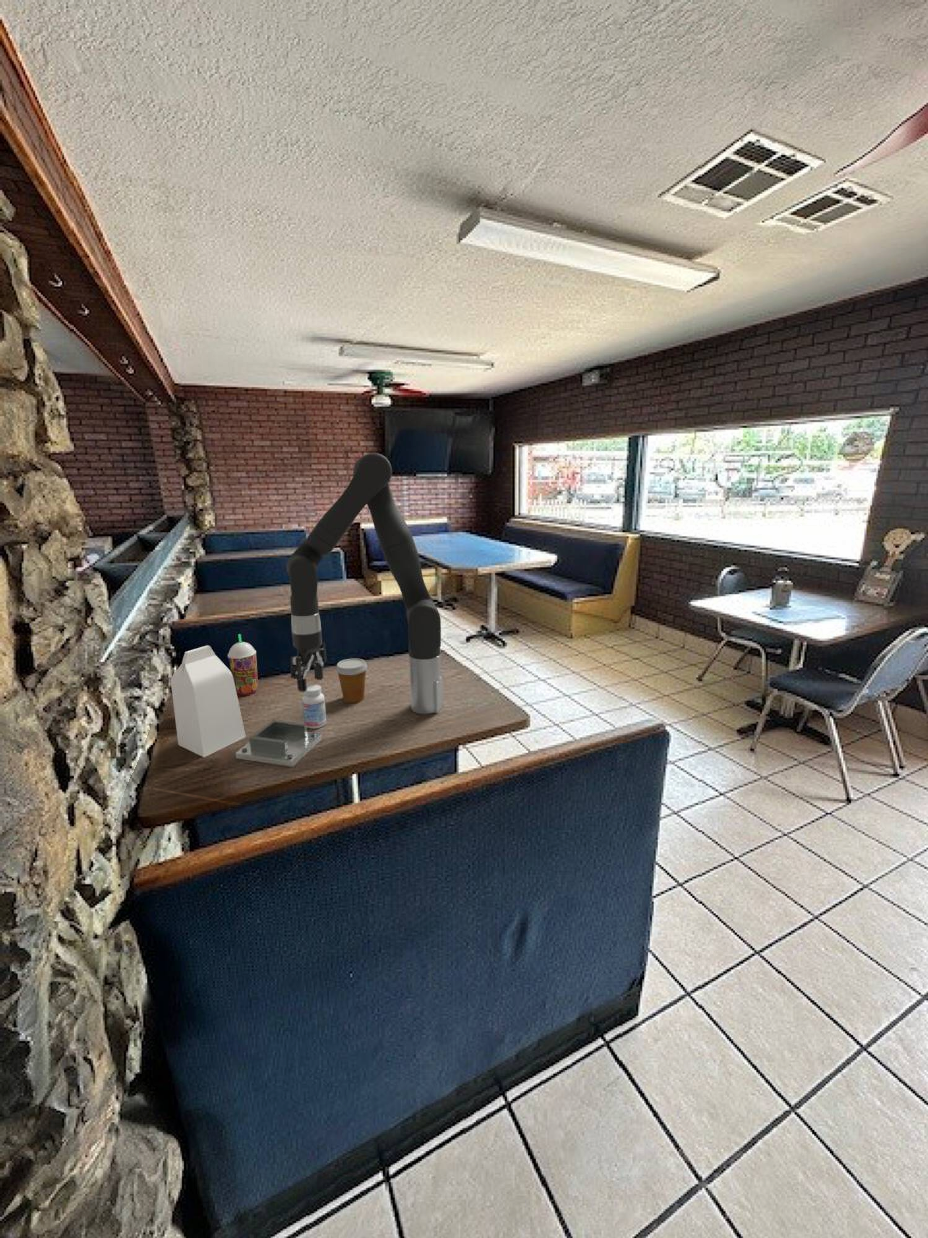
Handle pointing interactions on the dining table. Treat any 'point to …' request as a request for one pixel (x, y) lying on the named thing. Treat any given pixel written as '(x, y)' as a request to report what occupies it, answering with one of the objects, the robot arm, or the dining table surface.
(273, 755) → the mounting bracket
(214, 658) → the milk
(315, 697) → the pill bottle
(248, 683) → the smoothie
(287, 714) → the dining table surface
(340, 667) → the disposable coffee cup
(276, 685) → the dining table surface
